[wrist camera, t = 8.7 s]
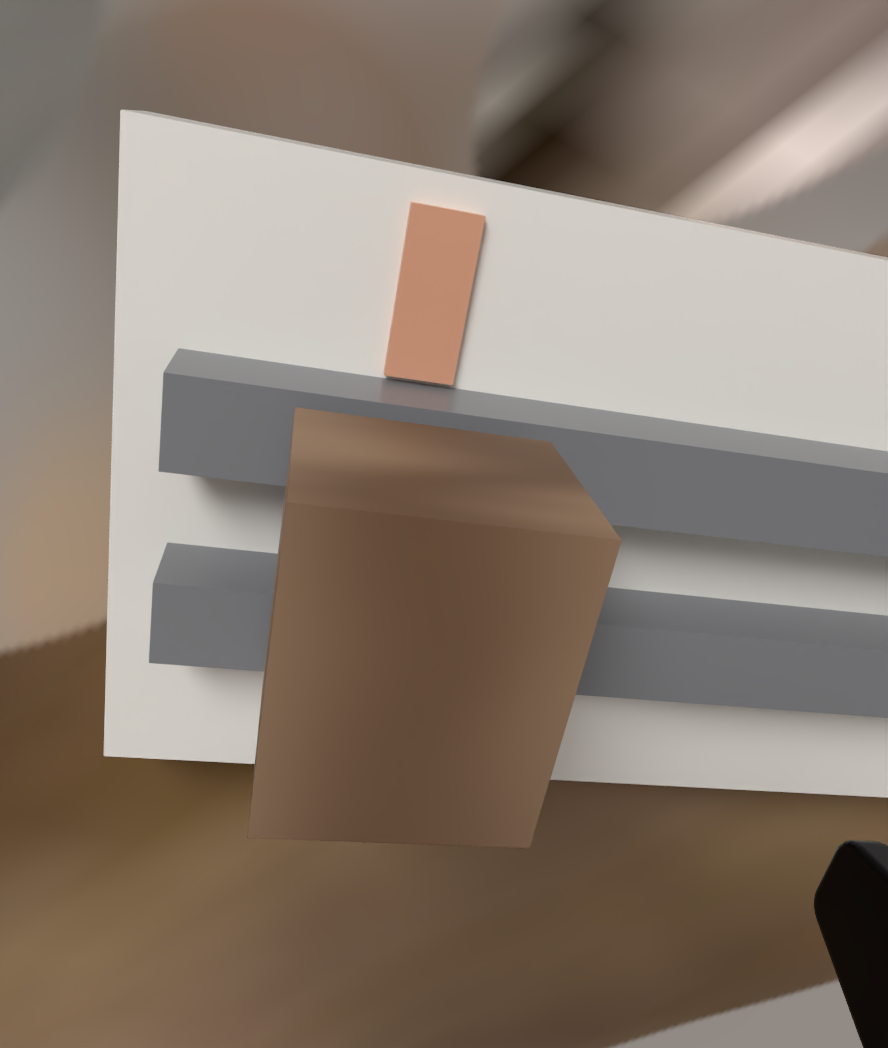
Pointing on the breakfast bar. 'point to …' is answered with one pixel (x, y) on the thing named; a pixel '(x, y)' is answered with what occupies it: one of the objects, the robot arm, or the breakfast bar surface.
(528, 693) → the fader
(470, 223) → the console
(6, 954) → the breakfast bar surface
